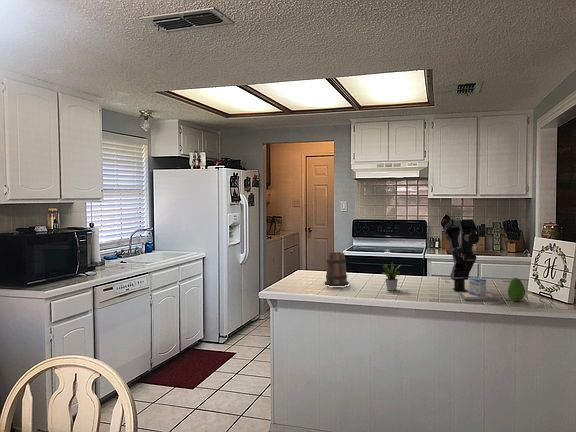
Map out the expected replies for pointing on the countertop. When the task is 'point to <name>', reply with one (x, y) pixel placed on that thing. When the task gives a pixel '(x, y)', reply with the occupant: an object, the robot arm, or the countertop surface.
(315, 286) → the countertop surface
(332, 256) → the tankard
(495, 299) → the mat
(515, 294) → the avocado
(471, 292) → the medicine box
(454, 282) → the robot arm
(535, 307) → the countertop surface
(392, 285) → the house plant
